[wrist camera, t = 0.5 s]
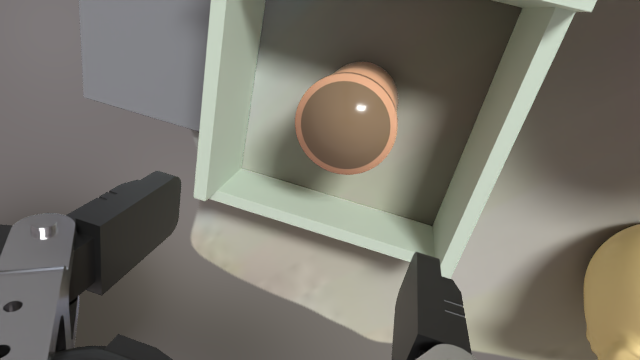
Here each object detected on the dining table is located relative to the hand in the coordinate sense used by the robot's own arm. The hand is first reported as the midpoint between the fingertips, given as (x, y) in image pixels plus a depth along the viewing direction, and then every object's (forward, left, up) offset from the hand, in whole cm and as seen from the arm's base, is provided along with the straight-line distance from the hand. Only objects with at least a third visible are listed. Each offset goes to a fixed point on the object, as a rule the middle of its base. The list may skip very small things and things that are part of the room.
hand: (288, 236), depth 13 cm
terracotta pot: (0, 0, -21) cm, 21 cm away
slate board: (0, -18, -21) cm, 28 cm away
